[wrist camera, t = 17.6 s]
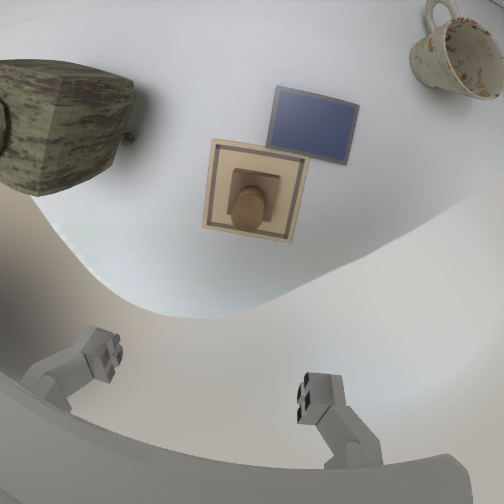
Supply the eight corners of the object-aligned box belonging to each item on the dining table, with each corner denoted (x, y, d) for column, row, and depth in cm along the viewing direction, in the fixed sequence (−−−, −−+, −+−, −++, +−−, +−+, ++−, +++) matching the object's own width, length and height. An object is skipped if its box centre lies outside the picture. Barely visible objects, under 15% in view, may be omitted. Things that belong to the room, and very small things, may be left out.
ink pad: (356, 105, 27) (360, 105, 25) (343, 163, 30) (347, 165, 29) (276, 86, 27) (276, 85, 25) (265, 146, 30) (265, 148, 29)
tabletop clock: (59, 122, 29) (-95, 178, 7) (79, 61, 25) (-87, 72, 3) (138, 156, 32) (-32, 255, 10) (166, 88, 27) (-28, 91, 5)
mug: (408, 97, 25) (455, 98, 16) (382, 2, 20) (417, -27, 11) (461, 97, 24) (512, 103, 15) (438, 8, 18) (481, -10, 9)
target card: (310, 155, 30) (310, 155, 30) (290, 242, 35) (290, 243, 35) (212, 138, 30) (211, 139, 30) (203, 226, 35) (202, 228, 35)
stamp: (279, 175, 31) (279, 196, 24) (271, 215, 34) (269, 247, 27) (235, 167, 31) (222, 185, 24) (229, 208, 34) (216, 237, 27)
